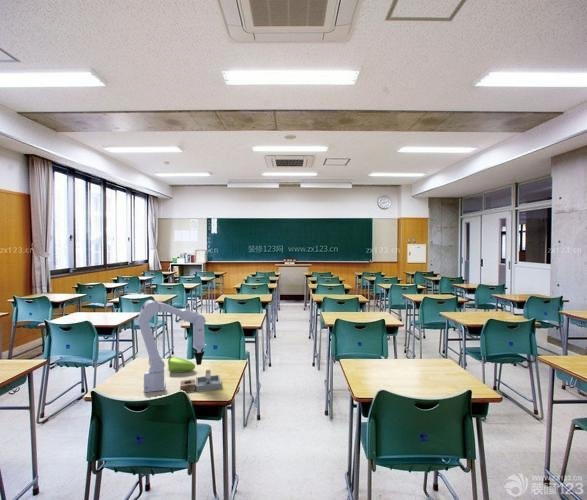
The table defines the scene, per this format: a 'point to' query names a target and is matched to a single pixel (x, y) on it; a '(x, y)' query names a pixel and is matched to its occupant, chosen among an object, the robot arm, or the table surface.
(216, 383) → the tray
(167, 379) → the table surface
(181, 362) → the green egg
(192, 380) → the pin block
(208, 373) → the pin
